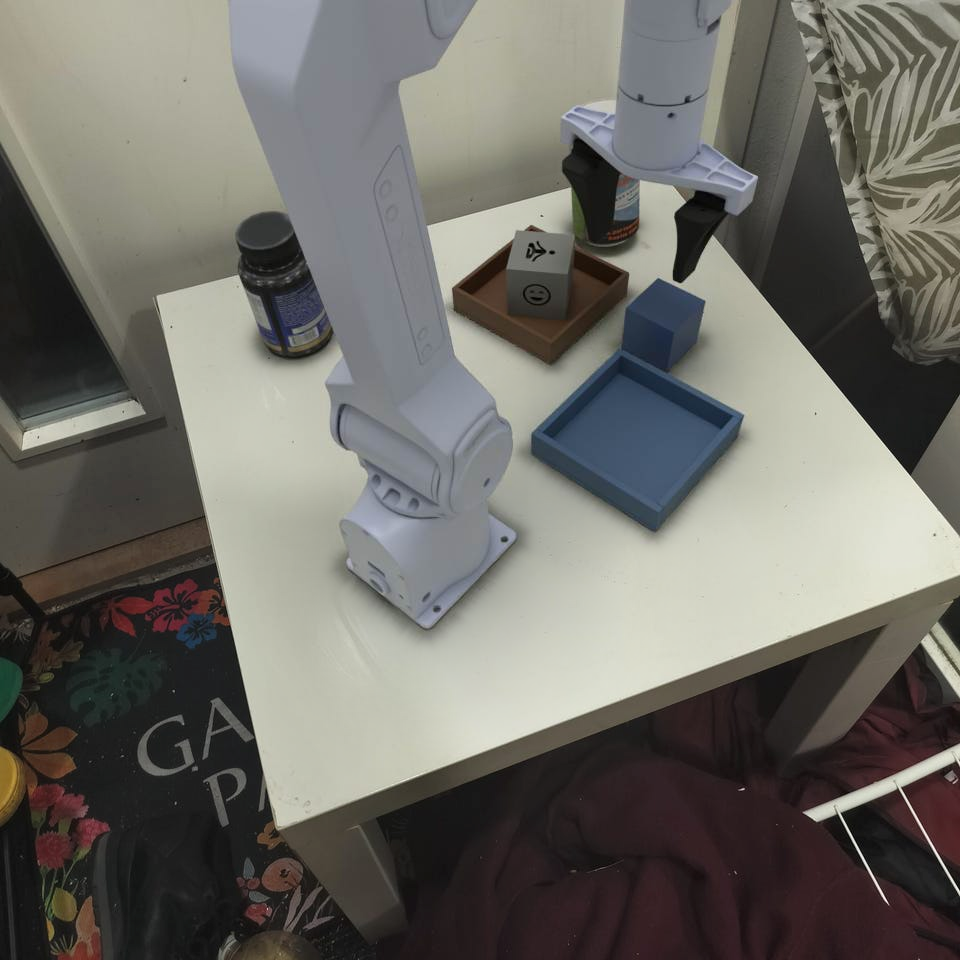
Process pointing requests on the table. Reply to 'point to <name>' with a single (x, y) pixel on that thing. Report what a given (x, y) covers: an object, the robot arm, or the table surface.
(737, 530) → the table surface
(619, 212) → the beverage can
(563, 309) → the dice cube
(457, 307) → the walnut tray
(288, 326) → the pill bottle
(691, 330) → the blue block
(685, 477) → the blue tray
